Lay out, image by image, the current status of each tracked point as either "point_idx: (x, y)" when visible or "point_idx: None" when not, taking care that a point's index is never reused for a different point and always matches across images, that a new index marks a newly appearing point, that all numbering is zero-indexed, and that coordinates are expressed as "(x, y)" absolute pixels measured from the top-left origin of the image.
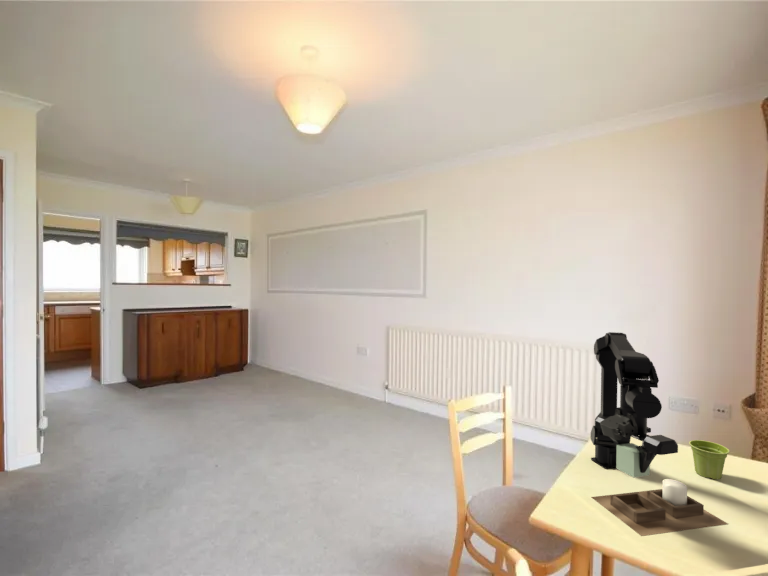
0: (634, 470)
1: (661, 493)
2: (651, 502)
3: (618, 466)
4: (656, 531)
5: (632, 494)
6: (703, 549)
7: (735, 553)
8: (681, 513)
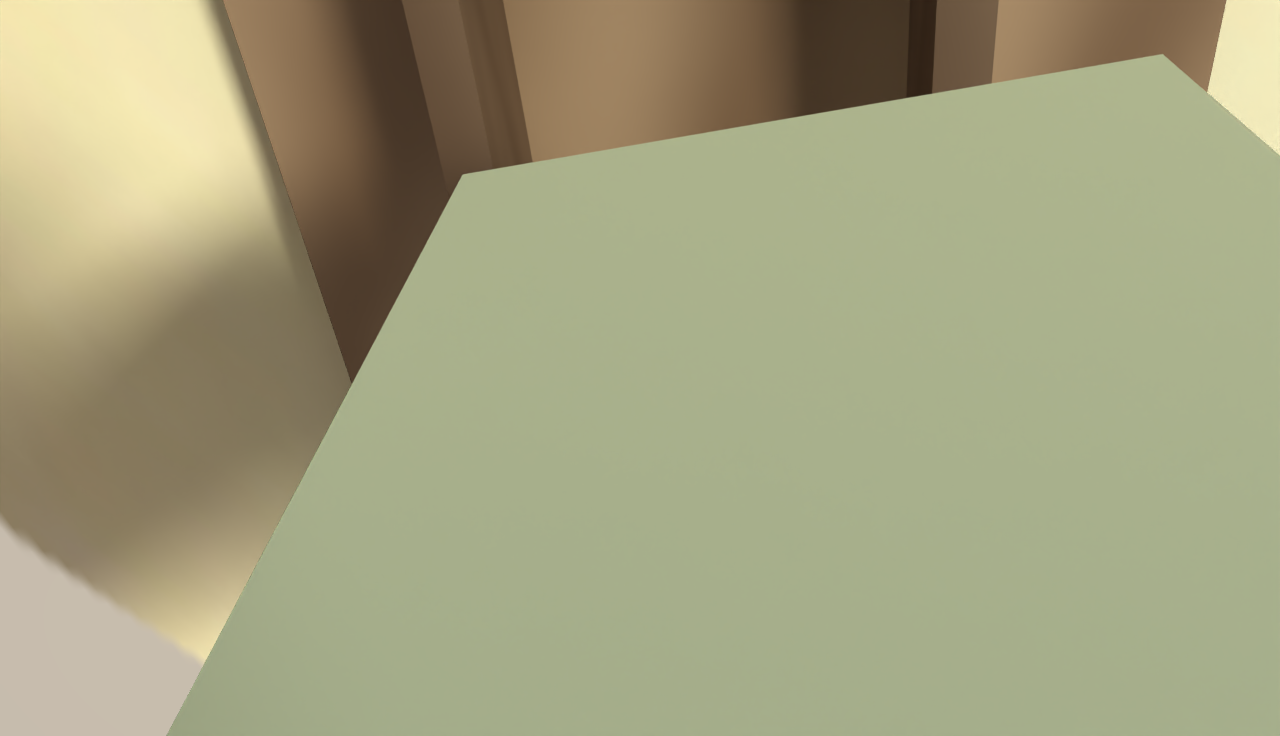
0: (406, 311)
1: None
2: None
3: (1101, 112)
4: (267, 2)
5: None
6: (130, 305)
7: (134, 499)
8: None
